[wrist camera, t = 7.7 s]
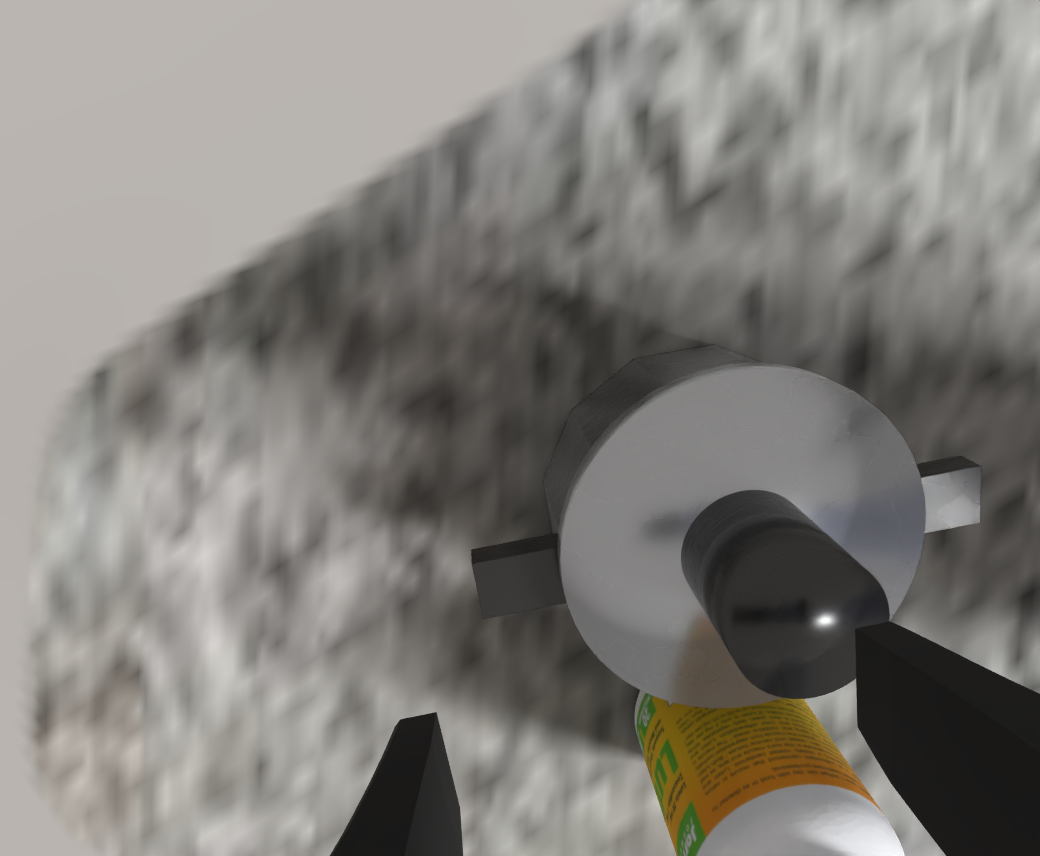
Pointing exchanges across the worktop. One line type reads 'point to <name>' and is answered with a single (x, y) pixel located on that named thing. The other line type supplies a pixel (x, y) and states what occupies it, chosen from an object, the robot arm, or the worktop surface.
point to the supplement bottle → (756, 782)
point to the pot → (534, 562)
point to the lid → (740, 536)
